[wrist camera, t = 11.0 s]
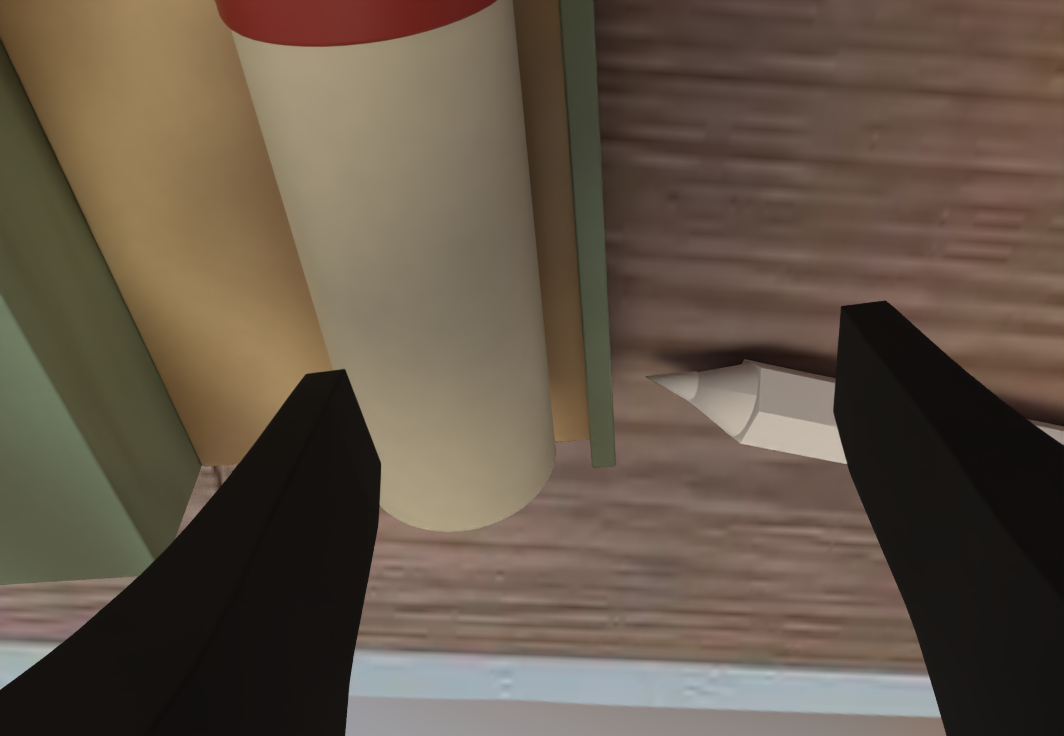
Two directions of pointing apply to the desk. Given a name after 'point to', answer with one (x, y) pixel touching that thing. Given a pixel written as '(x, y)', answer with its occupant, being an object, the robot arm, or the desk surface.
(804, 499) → the desk surface
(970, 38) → the desk surface
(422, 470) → the red-banded cream cylinder
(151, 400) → the tray with green block
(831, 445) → the marker
